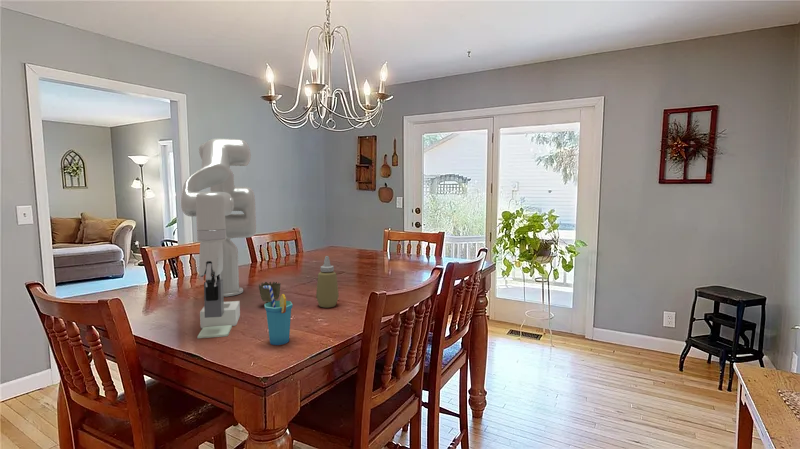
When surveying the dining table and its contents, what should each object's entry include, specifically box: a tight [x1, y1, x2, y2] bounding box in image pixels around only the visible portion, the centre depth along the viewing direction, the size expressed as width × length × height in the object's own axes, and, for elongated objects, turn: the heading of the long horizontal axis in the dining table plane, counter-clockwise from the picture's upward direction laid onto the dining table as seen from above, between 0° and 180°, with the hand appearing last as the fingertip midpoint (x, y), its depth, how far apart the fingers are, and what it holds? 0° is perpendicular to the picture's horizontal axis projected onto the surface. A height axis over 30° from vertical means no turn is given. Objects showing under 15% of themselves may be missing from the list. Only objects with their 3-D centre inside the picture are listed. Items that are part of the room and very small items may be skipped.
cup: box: [263, 286, 293, 346], centre depth 115 cm, size 14×8×15 cm, turn 46°
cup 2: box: [258, 281, 281, 304], centre depth 149 cm, size 8×7×8 cm
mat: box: [197, 325, 233, 339], centre depth 122 cm, size 8×8×1 cm
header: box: [199, 300, 241, 329], centre depth 131 cm, size 10×10×5 cm
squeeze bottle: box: [315, 255, 340, 309], centre depth 148 cm, size 8×8×18 cm
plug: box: [203, 279, 225, 318], centre depth 121 cm, size 4×4×10 cm
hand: (213, 297), depth 121 cm, fingers closed on plug, 4 cm apart
